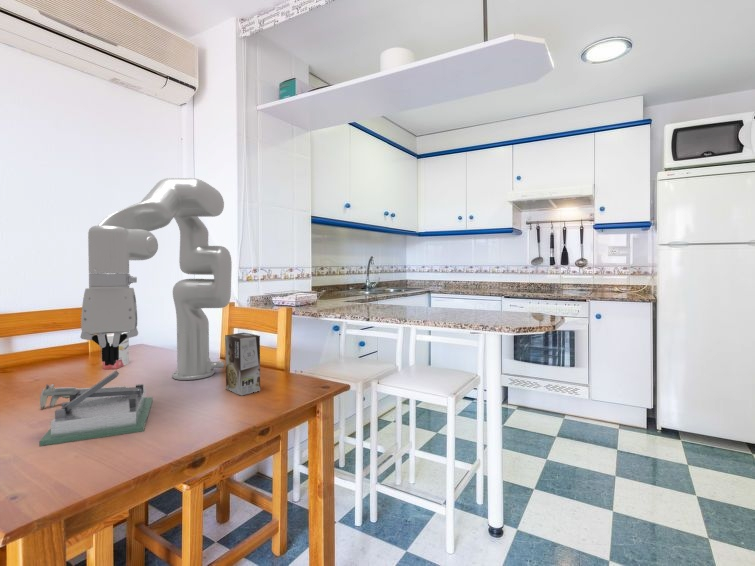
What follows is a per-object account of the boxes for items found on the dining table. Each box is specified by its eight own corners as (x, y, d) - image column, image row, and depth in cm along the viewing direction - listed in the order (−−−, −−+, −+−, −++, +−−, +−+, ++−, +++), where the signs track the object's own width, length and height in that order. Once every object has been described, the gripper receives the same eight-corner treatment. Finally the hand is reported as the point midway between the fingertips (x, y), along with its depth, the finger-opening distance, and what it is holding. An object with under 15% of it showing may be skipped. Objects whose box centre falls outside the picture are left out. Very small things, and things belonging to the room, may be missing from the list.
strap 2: (141, 391, 102) (142, 386, 102) (140, 394, 100) (140, 389, 100) (81, 394, 97) (81, 389, 97) (78, 398, 94) (78, 393, 94)
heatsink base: (152, 400, 108) (152, 378, 108) (143, 431, 88) (142, 403, 88) (70, 410, 101) (69, 386, 100) (39, 446, 81) (38, 416, 80)
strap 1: (60, 416, 86) (56, 412, 86) (65, 411, 89) (61, 407, 88) (117, 377, 90) (113, 373, 90) (119, 373, 93) (115, 369, 92)
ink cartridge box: (117, 369, 140) (116, 327, 139) (102, 369, 140) (101, 327, 139) (130, 363, 149) (129, 323, 148) (115, 363, 148) (114, 323, 147)
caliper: (41, 411, 101) (41, 386, 100) (40, 410, 101) (39, 385, 101) (130, 390, 117) (129, 369, 117) (128, 389, 118) (128, 368, 118)
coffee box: (261, 391, 116) (260, 335, 116) (240, 396, 112) (240, 338, 111) (245, 384, 123) (244, 331, 122) (224, 389, 118) (224, 334, 117)
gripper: (149, 281, 96) (150, 358, 97) (73, 281, 90) (74, 363, 90) (146, 282, 89) (147, 364, 90) (63, 282, 83) (64, 371, 84)
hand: (110, 364), depth 90 cm, fingers closed
